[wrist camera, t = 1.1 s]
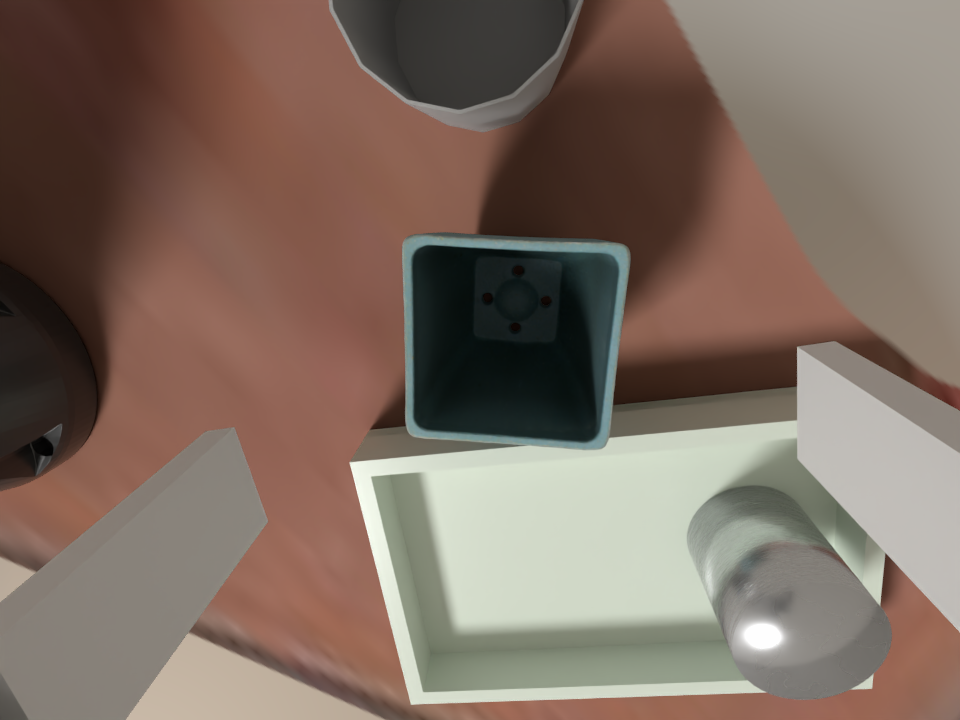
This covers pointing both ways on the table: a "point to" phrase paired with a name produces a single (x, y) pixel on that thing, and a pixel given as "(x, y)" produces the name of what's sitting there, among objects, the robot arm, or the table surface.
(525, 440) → the flower pot
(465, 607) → the shallow serving tray
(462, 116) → the cup
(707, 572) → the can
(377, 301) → the table surface
